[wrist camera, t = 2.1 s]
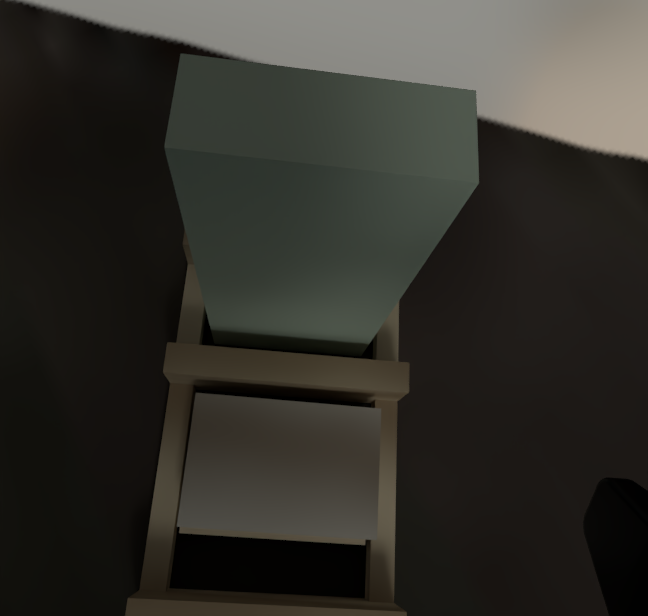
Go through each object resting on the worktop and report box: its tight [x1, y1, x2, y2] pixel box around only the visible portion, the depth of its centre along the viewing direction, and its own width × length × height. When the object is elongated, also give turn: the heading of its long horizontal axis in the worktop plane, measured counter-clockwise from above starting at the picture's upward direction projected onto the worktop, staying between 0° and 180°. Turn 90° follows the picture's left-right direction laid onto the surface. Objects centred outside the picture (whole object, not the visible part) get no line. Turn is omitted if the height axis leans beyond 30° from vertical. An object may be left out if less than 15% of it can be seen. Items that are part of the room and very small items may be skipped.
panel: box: [164, 54, 479, 356], centre depth 16 cm, size 2×6×12 cm, turn 86°
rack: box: [125, 231, 409, 616], centre depth 20 cm, size 13×8×2 cm, turn 177°
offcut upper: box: [177, 393, 381, 540], centre depth 19 cm, size 4×6×2 cm, turn 86°
